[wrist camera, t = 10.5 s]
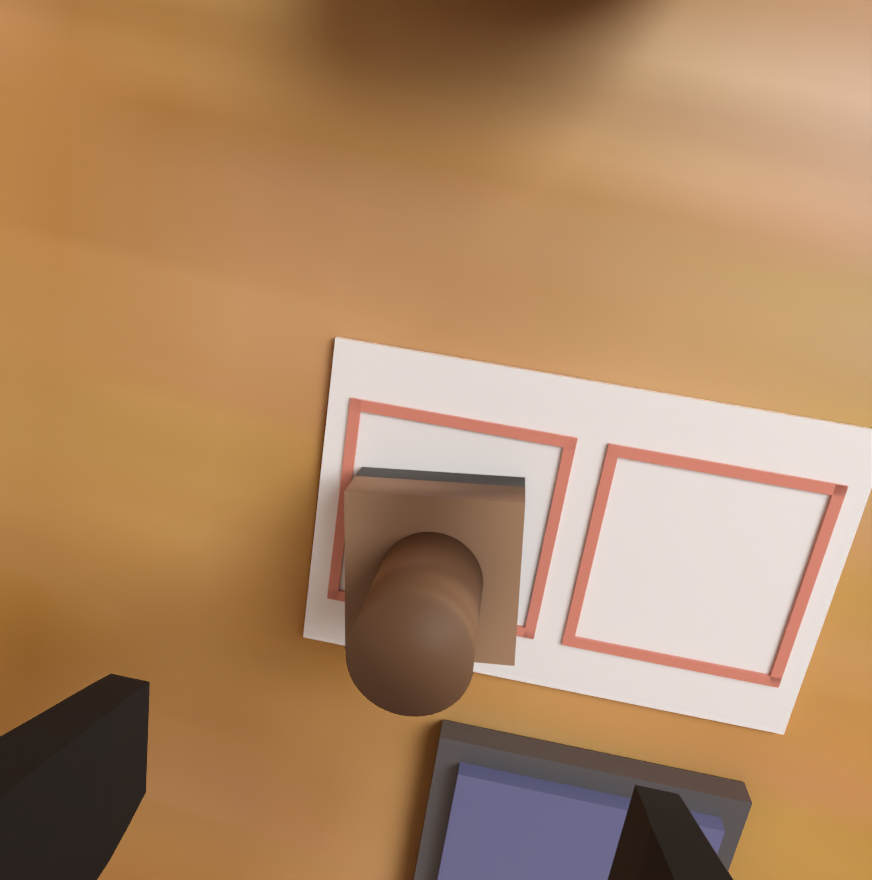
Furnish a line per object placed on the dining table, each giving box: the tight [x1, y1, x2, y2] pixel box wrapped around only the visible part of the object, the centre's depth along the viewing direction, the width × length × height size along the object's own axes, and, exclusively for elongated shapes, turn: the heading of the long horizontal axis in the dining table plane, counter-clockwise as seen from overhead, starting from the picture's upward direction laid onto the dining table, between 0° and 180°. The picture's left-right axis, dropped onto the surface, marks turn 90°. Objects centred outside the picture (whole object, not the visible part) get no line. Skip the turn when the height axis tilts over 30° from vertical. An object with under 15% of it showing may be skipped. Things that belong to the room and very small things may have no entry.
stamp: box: [344, 467, 525, 716], centre depth 17 cm, size 4×4×6 cm
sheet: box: [303, 337, 872, 735], centre depth 19 cm, size 14×9×1 cm, turn 82°
